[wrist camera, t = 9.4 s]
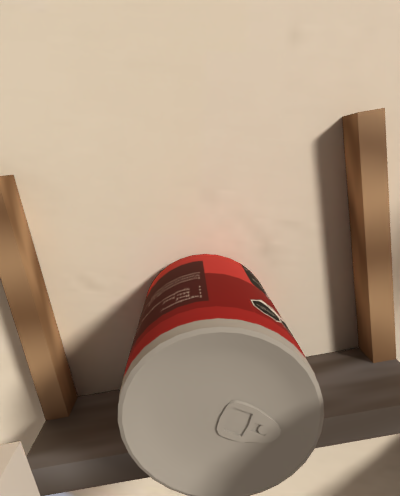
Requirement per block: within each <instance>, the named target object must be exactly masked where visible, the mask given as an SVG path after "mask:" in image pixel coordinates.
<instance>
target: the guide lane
mask: <svg viewBox="0 0 400 496" xmlns="http://www.w3.org/2000/svg"><path fill="white" fill-rule="evenodd" d="M342 121H343V135H344V149H345V163H346V176H347V190H348V204H349V218H350V231H351V245H352V259H353V273H354V286H355V300H356V314H357V328H358V342H359V348H354V349H349V350H343V351H337V352H332V353H326V354H320V355H315V356H309V357H306V359H307V361H308V363H309V364H310V366H311V368H312V370H313V371H314V373H315V376H316V380H317V381H318V383H319V387H320V390H321V393H322V397H323V404H324V420H323V426H322V432H321V435H320V437H319V439H318V442H317V444H316V447H315V448H319V447H325V446H330V445H336V444H342V443H347V442H353V441H359V440H365V439H370V438H376V437H382V436H387V435H393V434H399V433H400V362H399V361H398V360H397V359H396V344H395V323H394V301H393V279H392V257H391V235H390V213H389V191H388V170H387V148H386V126H385V108H381V109H375V110H370V111H364V112H358V113H354V114H351V115H347V116H344V117H342ZM0 278H1V281H2V284H3V287H4V291H5V294H6V297H7V300H8V303H9V306H10V309H11V313H12V316H13V319H14V322H15V325H16V328H17V331H18V334H19V338H20V341H21V344H22V347H23V350H24V353H25V356H26V360H27V363H28V366H29V369H30V372H31V375H32V378H33V381H34V385H35V388H36V391H37V394H38V397H39V400H40V403H41V406H42V410H43V413H44V416H45V419H46V422H45V423H44V425H43V427H42V429H41V431H40V433H39V435H38V436H37V438H36V440H35V442H34V444H33V446H32V448H31V450H30V451H29V453H28V455H27V460H28V463H29V466H30V468H31V471H32V474H33V477H34V480H35V482H36V485H37V488H38V491H39V493H40V496H45V495H50V494H56V493H62V492H67V491H73V490H79V489H85V488H90V487H96V486H102V485H107V484H113V483H119V482H125V481H130V480H136V479H142V478H147V477H150V476H149V475H148V474H146V473H145V472H144V471H143V470H142V469H141V468H140V467H139V466H138V465H137V464H136V462H135V461H134V460H133V458H132V457H131V456H130V454H129V453H128V451H127V449H126V447H125V444H124V442H123V440H122V438H121V434H120V429H119V424H118V403H119V393H120V390H115V391H109V392H104V393H98V394H92V395H86V396H81V397H78V396H77V393H76V390H75V386H74V383H73V379H72V376H71V372H70V369H69V365H68V362H67V358H66V355H65V352H64V348H63V345H62V341H61V338H60V334H59V331H58V327H57V324H56V320H55V317H54V314H53V310H52V307H51V303H50V300H49V296H48V293H47V289H46V286H45V282H44V279H43V276H42V272H41V269H40V265H39V262H38V258H37V255H36V251H35V248H34V244H33V241H32V238H31V234H30V231H29V227H28V224H27V220H26V217H25V213H24V210H23V206H22V203H21V200H20V196H19V193H18V189H17V186H16V182H15V179H14V175H6V176H0Z"/></svg>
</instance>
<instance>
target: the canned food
mask: <svg viewBox="0 0 400 496" xmlns="http://www.w3.org/2000/svg"><path fill="white" fill-rule="evenodd" d="M323 420H324V404H323V397H322V393H321V390H320V387H319V383H318V381H317V380H316V376H315V373H314V371H313V370H312V368H311V366H310V364H309V363H308V361H307V359H306V357H305V356H304V354H303V352H302V350H301V349H300V347H299V345H298V343H297V342H296V340H295V339H294V337H293V335H292V334H291V332H290V331H289V329H288V327H287V326H286V324H285V323H284V321H283V319H282V318H281V316H280V315H279V313H278V311H277V310H276V308H275V307H274V305H273V303H272V302H271V300H270V299H269V297H268V295H267V294H266V292H265V291H264V289H263V287H262V286H261V284H260V283H259V281H258V279H257V278H256V277H255V276H254V275H253V274H252V273H251V272H250V271H249V270H248V269H247V268H245V267H244V266H243V265H241V264H240V263H238V262H236V261H234V260H232V259H230V258H226V257H223V256H219V255H210V254H201V255H192V256H189V257H185V258H182V259H180V260H178V261H176V262H174V263H172V264H170V265H169V266H167V267H166V268H165V269H164V270H162V271H161V272H160V273H159V275H158V276H157V277H156V278H155V280H154V281H153V283H152V285H151V287H150V289H149V290H148V294H147V297H146V300H145V304H144V307H143V311H142V314H141V317H140V321H139V324H138V328H137V331H136V334H135V338H134V341H133V344H132V348H131V351H130V355H129V358H128V361H127V365H126V369H125V373H124V377H123V381H122V385H121V389H120V393H119V403H118V424H119V429H120V434H121V438H122V440H123V442H124V444H125V447H126V449H127V451H128V453H129V454H130V456H131V457H132V458H133V460H134V461H135V462H136V464H137V465H138V466H139V467H140V468H141V469H142V470H143V471H144V472H145V473H146V474H148V475H149V476H150V477H151V478H152V479H154V480H155V481H157V482H159V483H160V484H162V485H164V486H165V487H167V488H169V489H172V490H174V491H177V492H179V493H182V494H185V495H188V496H250V495H253V494H257V493H261V492H263V491H265V490H267V489H270V488H272V487H274V486H276V485H278V484H280V483H281V482H282V481H284V480H285V479H287V478H288V477H290V476H291V475H293V474H294V473H295V472H296V471H297V470H298V469H299V468H300V467H301V466H302V465H303V464H304V463H305V462H306V460H307V459H308V457H309V456H310V454H311V453H312V452H313V450H314V449H315V447H316V444H317V442H318V439H319V437H320V435H321V432H322V426H323Z"/></svg>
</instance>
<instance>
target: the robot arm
mask: <svg viewBox="0 0 400 496" xmlns="http://www.w3.org/2000/svg"><path fill="white" fill-rule="evenodd" d="M0 496H40V493H39V491H38V488H37V485H36V482H35V480H34V477H33V474H32V471H31V468H30V466H29V463H28V460H27V457H26V455H25V452H24V449H23V446H22V444H21V441H18V442H13V443H7V444H2V445H0Z"/></svg>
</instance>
